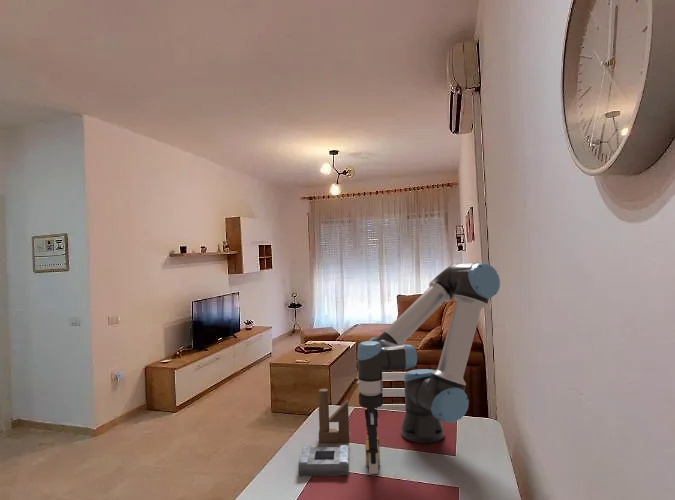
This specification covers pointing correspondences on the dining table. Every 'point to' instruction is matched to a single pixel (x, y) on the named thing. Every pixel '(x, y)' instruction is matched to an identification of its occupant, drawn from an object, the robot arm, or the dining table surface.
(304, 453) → the jig
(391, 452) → the dining table surface
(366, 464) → the bushing
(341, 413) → the brown wooden stand
